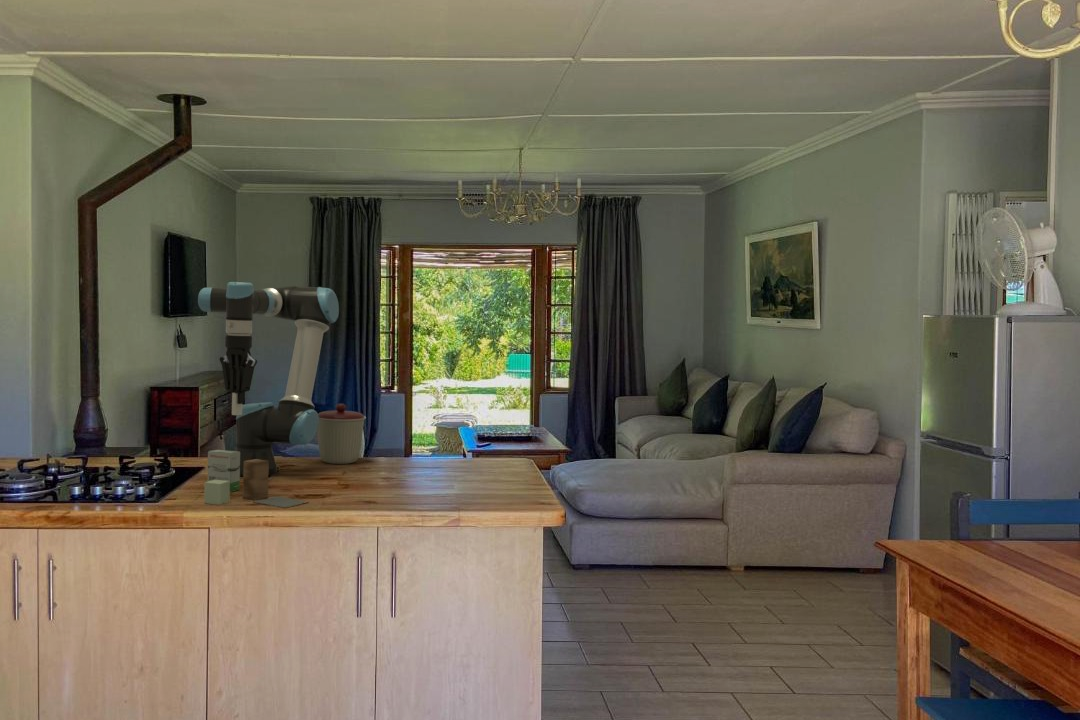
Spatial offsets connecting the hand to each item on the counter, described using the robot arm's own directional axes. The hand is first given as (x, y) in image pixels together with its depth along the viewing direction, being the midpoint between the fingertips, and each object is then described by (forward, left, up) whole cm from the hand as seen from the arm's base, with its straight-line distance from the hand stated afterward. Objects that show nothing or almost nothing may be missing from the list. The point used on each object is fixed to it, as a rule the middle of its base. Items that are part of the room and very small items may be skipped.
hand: (236, 414), depth 303 cm
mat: (+18, 0, -24) cm, 30 cm away
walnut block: (+8, 0, -24) cm, 25 cm away
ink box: (-8, +3, -24) cm, 26 cm away
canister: (-15, +65, -24) cm, 71 cm away
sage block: (+4, -11, -24) cm, 27 cm away
